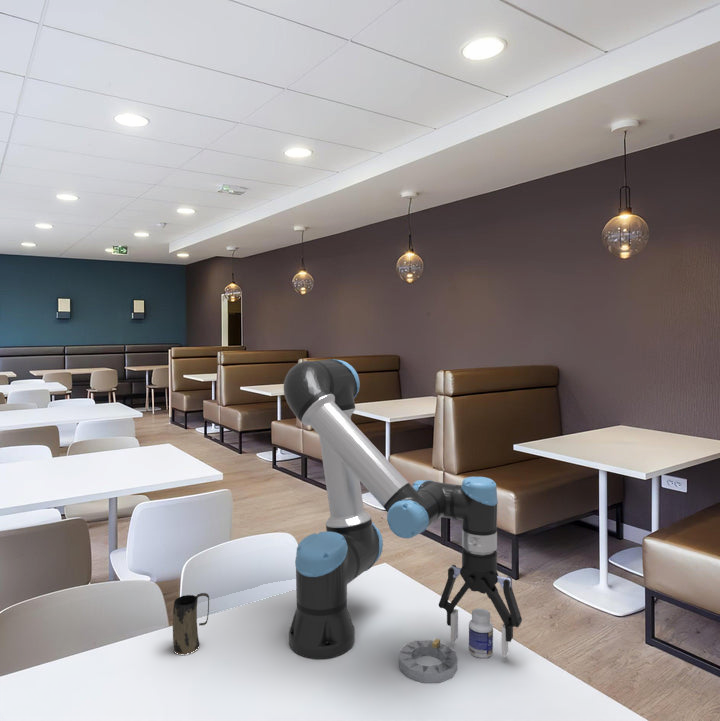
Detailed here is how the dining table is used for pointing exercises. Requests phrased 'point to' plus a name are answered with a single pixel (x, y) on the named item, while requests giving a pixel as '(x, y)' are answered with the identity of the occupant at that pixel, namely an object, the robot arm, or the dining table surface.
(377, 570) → the dining table surface
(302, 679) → the dining table surface
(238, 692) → the dining table surface
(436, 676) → the hub
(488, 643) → the pill bottle
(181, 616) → the mug
